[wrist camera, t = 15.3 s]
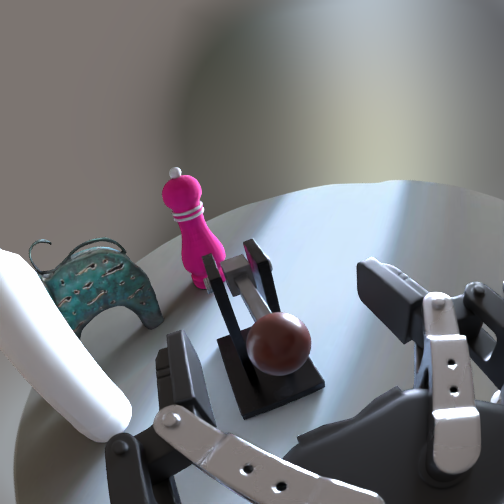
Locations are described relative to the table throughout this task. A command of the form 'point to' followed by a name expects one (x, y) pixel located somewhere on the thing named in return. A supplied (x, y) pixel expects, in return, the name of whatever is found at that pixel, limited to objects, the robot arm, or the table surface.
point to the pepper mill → (192, 225)
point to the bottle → (55, 355)
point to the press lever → (267, 325)
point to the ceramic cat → (99, 286)
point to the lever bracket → (235, 351)
